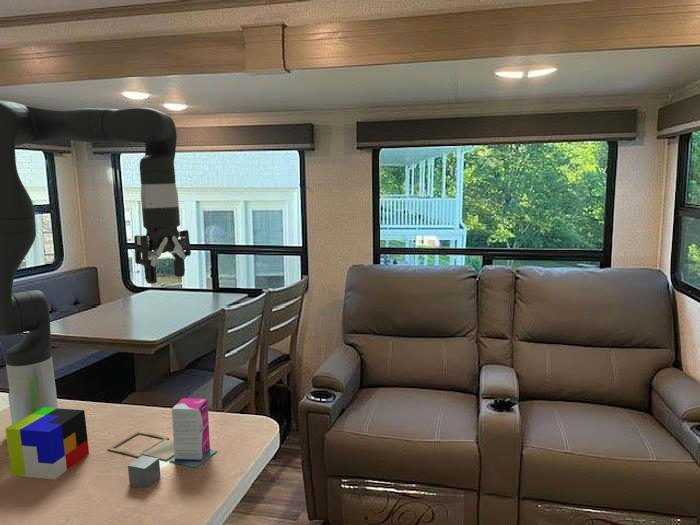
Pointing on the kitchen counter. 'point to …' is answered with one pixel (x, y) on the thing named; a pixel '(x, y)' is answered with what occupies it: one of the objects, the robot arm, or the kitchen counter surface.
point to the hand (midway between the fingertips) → (166, 279)
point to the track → (160, 450)
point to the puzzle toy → (47, 442)
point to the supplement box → (190, 429)
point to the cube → (144, 471)
